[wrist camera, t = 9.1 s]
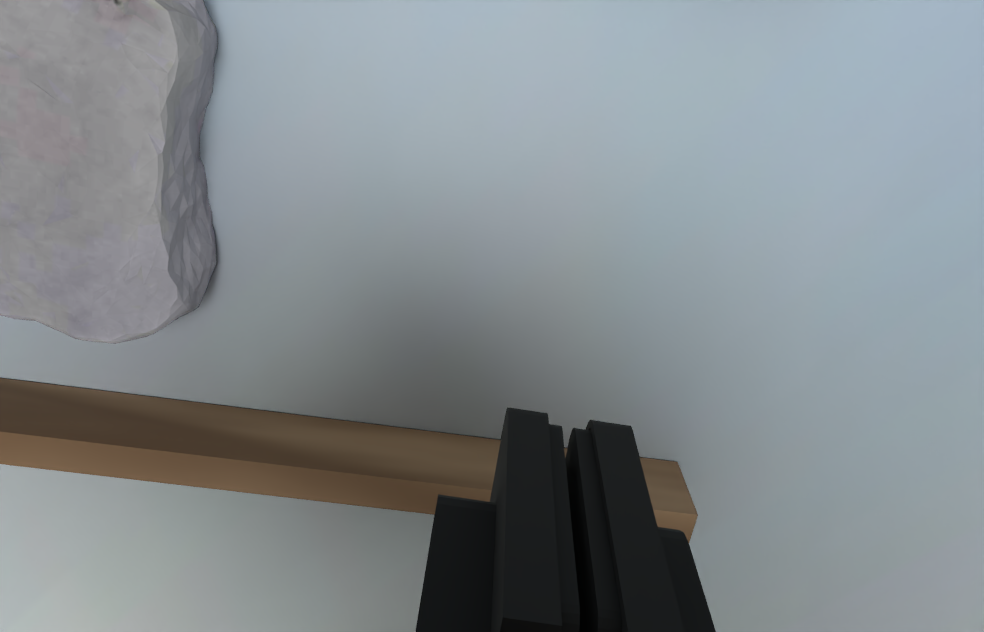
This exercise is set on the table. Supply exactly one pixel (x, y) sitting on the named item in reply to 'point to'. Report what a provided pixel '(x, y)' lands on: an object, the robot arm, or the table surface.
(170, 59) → the stone block
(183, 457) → the channel
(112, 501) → the table surface
